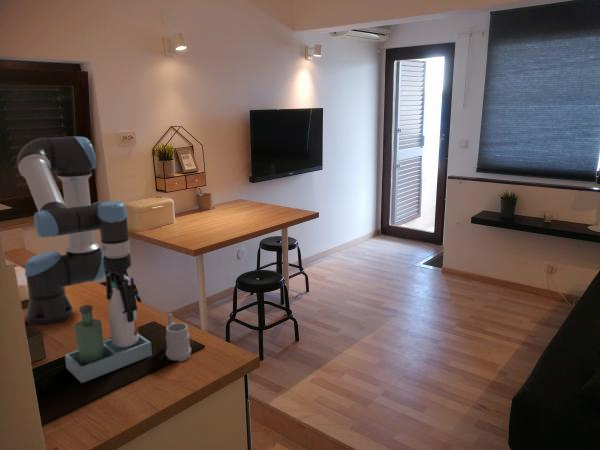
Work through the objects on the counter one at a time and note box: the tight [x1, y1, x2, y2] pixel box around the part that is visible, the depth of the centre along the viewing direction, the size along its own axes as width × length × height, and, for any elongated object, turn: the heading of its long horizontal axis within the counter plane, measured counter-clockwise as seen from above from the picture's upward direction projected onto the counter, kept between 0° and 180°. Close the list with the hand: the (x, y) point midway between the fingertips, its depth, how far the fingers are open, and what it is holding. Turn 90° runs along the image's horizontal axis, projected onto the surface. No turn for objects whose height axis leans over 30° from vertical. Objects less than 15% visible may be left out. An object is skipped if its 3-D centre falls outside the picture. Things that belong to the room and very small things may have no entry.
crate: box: [64, 333, 153, 384], centre depth 144 cm, size 11×21×5 cm, turn 135°
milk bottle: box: [108, 280, 139, 347], centre depth 144 cm, size 8×8×20 cm
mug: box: [165, 313, 192, 362], centre depth 148 cm, size 8×12×12 cm, turn 34°
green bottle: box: [74, 304, 105, 367], centre depth 138 cm, size 7×7×19 cm
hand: (123, 326), depth 145 cm, fingers closed on milk bottle, 7 cm apart
